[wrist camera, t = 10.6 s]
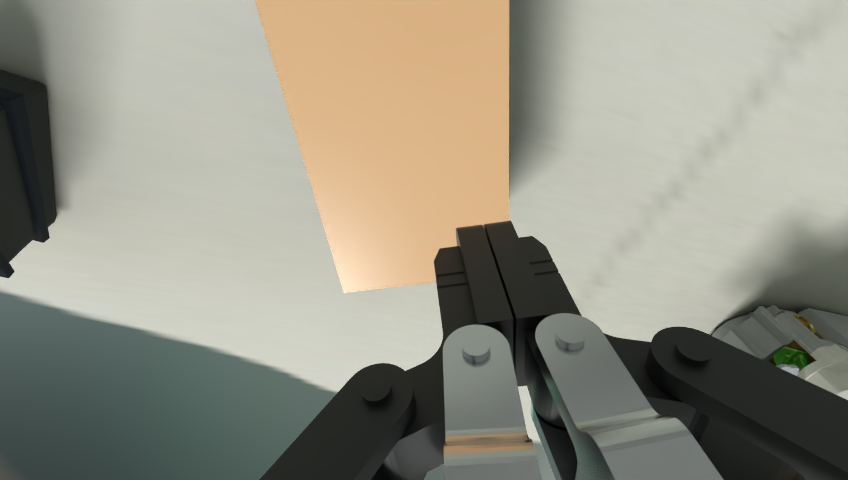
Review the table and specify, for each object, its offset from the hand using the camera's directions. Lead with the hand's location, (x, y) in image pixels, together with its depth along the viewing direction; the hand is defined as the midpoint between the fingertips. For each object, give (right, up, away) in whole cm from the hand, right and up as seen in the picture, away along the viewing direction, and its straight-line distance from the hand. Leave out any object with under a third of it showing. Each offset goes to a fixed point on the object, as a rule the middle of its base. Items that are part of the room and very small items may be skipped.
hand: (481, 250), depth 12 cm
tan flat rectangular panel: (-3, +7, +10) cm, 13 cm away
